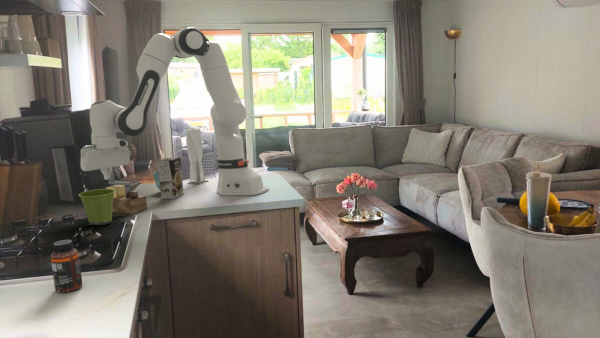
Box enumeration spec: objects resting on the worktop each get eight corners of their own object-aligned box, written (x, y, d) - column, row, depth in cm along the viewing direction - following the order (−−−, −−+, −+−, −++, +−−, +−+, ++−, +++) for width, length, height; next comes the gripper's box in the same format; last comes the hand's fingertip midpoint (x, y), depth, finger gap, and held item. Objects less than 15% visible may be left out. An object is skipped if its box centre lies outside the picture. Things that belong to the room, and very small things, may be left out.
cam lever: (132, 196, 201) (129, 171, 200) (127, 197, 199) (125, 172, 198) (114, 194, 207) (111, 170, 206) (109, 195, 206) (107, 171, 204)
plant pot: (76, 225, 182) (72, 193, 181) (108, 218, 191) (104, 187, 189) (92, 230, 174) (88, 197, 173) (125, 222, 183) (121, 190, 181)
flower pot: (166, 193, 230) (165, 173, 229) (154, 192, 235) (152, 172, 234) (182, 190, 237) (180, 170, 235) (169, 188, 242) (168, 169, 241)
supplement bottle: (81, 281, 127) (75, 236, 126) (84, 289, 122) (78, 242, 120) (54, 287, 125) (48, 241, 123) (56, 295, 120) (49, 247, 118)
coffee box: (175, 198, 219) (171, 160, 216) (160, 198, 220) (157, 160, 217) (184, 194, 227) (181, 157, 225) (170, 194, 229) (167, 157, 226)
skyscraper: (185, 183, 253) (179, 125, 248) (194, 180, 260) (190, 123, 255) (199, 184, 249) (194, 124, 245) (209, 180, 256) (204, 123, 252)
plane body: (147, 208, 203) (145, 189, 202) (132, 213, 196) (130, 193, 195) (118, 206, 210) (116, 187, 208) (102, 211, 203) (100, 192, 201)
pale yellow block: (126, 195, 205) (125, 185, 204) (116, 198, 200) (115, 188, 200) (116, 195, 207) (115, 185, 206) (107, 197, 202) (105, 187, 202)
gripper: (85, 146, 190) (89, 184, 192) (131, 141, 207) (133, 175, 210) (74, 146, 194) (78, 183, 196) (120, 140, 211) (123, 175, 213)
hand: (107, 179), depth 203 cm, fingers closed
